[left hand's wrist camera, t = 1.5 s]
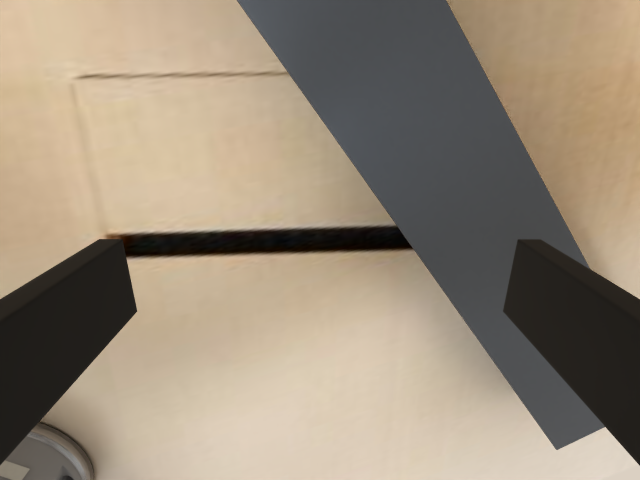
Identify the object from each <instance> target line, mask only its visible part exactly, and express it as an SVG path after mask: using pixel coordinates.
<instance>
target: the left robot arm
mask: <svg viewBox="0 0 640 480" xmlns="http://www.w3.org/2000/svg"><path fill="white" fill-rule="evenodd" d="M136 312H137V308H136V303H135V298H134V294H133V289H132V284H131V279H130V274H129V269H128V264H127V259H126V255H125V250H124V245H123V240H122V239H99V240H97V241H96V242H94V243H92V244H91V245H89V246H87V247H86V248H84V249H82V250H81V251H79V252H78V253H76V254H74V255H73V256H71V257H69V258H68V259H66V260H64V261H63V262H61V263H59V264H58V265H56V266H54V267H53V268H51V269H50V270H48V271H46V272H45V273H43V274H41V275H40V276H38V277H36V278H35V279H33V280H31V281H30V282H28V283H26V284H25V285H23V286H22V287H20V288H18V289H17V290H15V291H13V292H12V293H10V294H8V295H7V296H5V297H3V298H2V299H0V480H93V477H94V475H93V468H92V465H91V462H90V460H89V458H88V457H87V455H86V453H85V452H84V451H83V450H82V449H81V447H80V446H79V445H78V444H77V443H75V442H74V441H73V440H72V439H71V438H69V437H68V436H66V435H65V434H63V433H62V432H60V431H58V430H56V429H54V428H52V427H49V426H47V425H44V424H41V423H38V422H39V421H40V420H41V419H42V418H43V417H44V416H45V415H46V413H47V412H48V411H49V410H50V409H51V408H52V407H53V405H54V404H55V403H56V402H57V401H58V400H59V399H60V398H61V396H62V395H63V394H64V393H65V392H66V391H67V390H68V389H69V387H70V386H71V385H72V384H73V383H74V382H75V381H76V380H77V378H78V377H79V376H80V375H81V374H82V373H83V372H84V371H85V369H86V368H87V367H88V366H89V365H90V364H91V363H92V362H93V360H94V359H95V358H96V357H97V356H98V355H99V354H100V353H101V351H102V350H103V349H104V348H105V347H106V346H107V345H108V344H109V342H110V341H111V340H112V339H113V338H114V337H115V336H116V335H117V333H118V332H119V331H120V330H121V329H122V328H123V327H124V326H125V324H126V323H127V322H128V321H129V320H130V319H131V318H132V317H133V315H134V314H135V313H136ZM503 312H504V313H505V314H506V315H507V317H508V318H509V319H510V320H511V321H512V322H513V323H514V324H515V326H516V327H517V328H518V329H519V330H520V331H521V332H522V333H523V335H524V336H525V337H526V338H527V339H528V340H529V341H530V342H531V344H532V345H533V346H534V347H535V348H536V349H537V350H538V351H539V353H540V354H541V355H542V356H543V357H544V358H545V359H546V360H547V362H548V363H549V364H550V365H551V366H552V367H553V368H554V369H555V371H556V372H557V373H558V374H559V375H560V376H561V377H562V378H563V380H564V381H565V382H566V383H567V384H568V385H569V386H570V387H571V389H572V390H573V391H574V392H575V393H576V394H577V395H578V396H579V398H580V399H581V400H582V401H583V402H584V403H585V404H586V405H587V407H588V408H589V409H590V410H591V411H592V412H593V413H594V415H595V416H596V417H597V418H598V419H599V420H600V421H601V422H602V424H603V425H604V426H605V427H606V428H607V429H608V430H609V431H610V433H611V434H612V435H613V436H614V437H615V438H616V439H617V440H618V442H619V443H620V444H621V445H622V446H623V447H624V448H625V449H626V451H627V452H628V453H629V454H630V455H631V456H632V457H633V458H634V460H635V461H636V462H637V463H638V464H639V465H640V299H638V298H637V297H635V296H633V295H632V294H630V293H628V292H627V291H625V290H623V289H622V288H620V287H618V286H617V285H615V284H614V283H612V282H610V281H609V280H607V279H605V278H604V277H602V276H600V275H599V274H597V273H595V272H594V271H592V270H590V269H589V268H587V267H586V266H584V265H582V264H581V263H579V262H577V261H576V260H574V259H572V258H571V257H569V256H567V255H566V254H564V253H562V252H561V251H559V250H558V249H556V248H554V247H553V246H551V245H549V244H548V243H546V242H544V241H543V240H541V239H518V240H517V245H516V250H515V255H514V259H513V264H512V269H511V274H510V279H509V284H508V289H507V294H506V298H505V303H504V308H503Z"/></svg>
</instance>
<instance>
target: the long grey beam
mask: <svg viewBox="0 0 640 480" xmlns="http://www.w3.org/2000/svg"><path fill="white" fill-rule="evenodd" d="M237 1H238V3H239V4H240V5H241V7H242V8H243V10H244V11H245V12H246V14H247V15H248V17H249V18H250V19H251V21H252V22H253V24H254V25H255V26H256V28H257V29H258V31H259V32H260V34H261V35H262V36H263V38H264V39H265V41H266V42H267V43H268V45H269V46H270V48H271V49H272V50H273V52H274V53H275V55H276V56H277V57H278V59H279V60H280V62H281V63H282V64H283V66H284V67H285V69H286V70H287V72H288V73H289V74H290V76H291V77H292V79H293V80H294V81H295V83H296V84H297V86H298V87H299V88H300V90H301V91H302V93H303V94H304V95H305V97H306V98H307V100H308V101H309V102H310V104H311V105H312V107H313V108H314V110H315V111H316V112H317V114H318V115H319V117H320V118H321V119H322V121H323V122H324V124H325V125H326V126H327V128H328V129H329V131H330V132H331V133H332V135H333V136H334V138H335V139H336V140H337V142H338V143H339V145H340V146H341V148H342V149H343V150H344V152H345V153H346V155H347V156H348V157H349V159H350V160H351V162H352V163H353V164H354V166H355V167H356V169H357V170H358V171H359V173H360V174H361V176H362V177H363V178H364V180H365V181H366V183H367V184H368V186H369V187H370V188H371V190H372V191H373V193H374V194H375V195H376V197H377V198H378V200H379V201H380V202H381V204H382V205H383V207H384V208H385V209H386V211H387V212H388V214H389V215H390V216H391V218H392V219H393V221H394V222H395V224H396V225H397V226H398V228H399V229H400V231H401V232H402V233H403V235H404V236H405V238H406V239H407V240H408V242H409V243H410V245H411V246H412V247H413V249H414V250H415V252H416V253H417V254H418V256H419V257H420V259H421V260H422V261H423V263H424V264H425V266H426V267H427V269H428V270H429V271H430V273H431V274H432V276H433V277H434V278H435V280H436V281H437V283H438V284H439V285H440V287H441V288H442V290H443V291H444V292H445V294H446V295H447V297H448V298H449V299H450V301H451V302H452V304H453V305H454V307H455V308H456V309H457V311H458V312H459V314H460V315H461V316H462V318H463V319H464V321H465V322H466V323H467V325H468V326H469V328H470V329H471V330H472V332H473V333H474V335H475V336H476V337H477V339H478V340H479V342H480V343H481V345H482V346H483V347H484V349H485V350H486V352H487V353H488V354H489V356H490V357H491V359H492V360H493V361H494V363H495V364H496V366H497V367H498V368H499V370H500V371H501V373H502V374H503V375H504V377H505V378H506V380H507V381H508V383H509V384H510V385H511V387H512V388H513V390H514V391H515V392H516V394H517V395H518V397H519V398H520V399H521V401H522V402H523V404H524V405H525V406H526V408H527V409H528V411H529V412H530V413H531V415H532V416H533V418H534V419H535V421H536V422H537V423H538V425H539V426H540V428H541V429H542V430H543V432H544V433H545V435H546V436H547V437H548V439H549V440H550V442H551V443H552V444H553V446H554V447H555V449H556V450H558V449H560V448H562V447H564V446H566V445H568V444H570V443H573V442H575V441H577V440H579V439H581V438H583V437H585V436H587V435H589V434H591V433H593V432H595V431H598V430H600V429H602V428H604V427H605V426H604V425H603V424H602V422H601V421H600V420H599V419H598V418H597V417H596V416H595V415H594V413H593V412H592V411H591V410H590V409H589V408H588V407H587V405H586V404H585V403H584V402H583V401H582V400H581V399H580V398H579V396H578V395H577V394H576V393H575V392H574V391H573V390H572V389H571V387H570V386H569V385H568V384H567V383H566V382H565V381H564V380H563V378H562V377H561V376H560V375H559V374H558V373H557V372H556V371H555V369H554V368H553V367H552V366H551V365H550V364H549V363H548V362H547V360H546V359H545V358H544V357H543V356H542V355H541V354H540V353H539V351H538V350H537V349H536V348H535V347H534V346H533V345H532V344H531V342H530V341H529V340H528V339H527V338H526V337H525V336H524V335H523V333H522V332H521V331H520V330H519V329H518V328H517V327H516V326H515V324H514V323H513V322H512V321H511V320H510V319H509V318H508V317H507V315H506V314H505V313H504V312H503V308H504V303H505V298H506V294H507V289H508V284H509V279H510V274H511V269H512V264H513V259H514V255H515V250H516V245H517V240H518V239H541V240H543V241H544V242H546V243H548V244H549V245H551V246H553V247H554V248H556V249H558V250H559V251H561V252H562V253H564V254H566V255H567V256H569V257H571V258H572V259H574V260H576V261H577V262H579V263H581V264H582V265H584V266H586V267H587V268H589V266H588V264H587V262H586V260H585V259H584V257H583V255H582V253H581V251H580V249H579V247H578V246H577V244H576V242H575V240H574V238H573V236H572V234H571V233H570V231H569V229H568V227H567V225H566V223H565V221H564V219H563V218H562V216H561V214H560V212H559V210H558V208H557V206H556V205H555V203H554V201H553V199H552V197H551V195H550V193H549V191H548V190H547V188H546V186H545V184H544V182H543V180H542V178H541V177H540V175H539V173H538V171H537V169H536V167H535V165H534V164H533V162H532V160H531V158H530V156H529V154H528V152H527V150H526V149H525V147H524V145H523V143H522V141H521V139H520V137H519V136H518V134H517V132H516V130H515V128H514V126H513V124H512V122H511V121H510V119H509V117H508V115H507V113H506V111H505V109H504V108H503V106H502V104H501V102H500V100H499V98H498V96H497V95H496V93H495V91H494V89H493V87H492V85H491V83H490V81H489V80H488V78H487V76H486V74H485V72H484V70H483V68H482V67H481V65H480V63H479V61H478V59H477V57H476V55H475V53H474V52H473V50H472V48H471V46H470V44H469V42H468V40H467V39H466V37H465V35H464V33H463V31H462V29H461V27H460V25H459V24H458V22H457V20H456V18H455V16H454V14H453V12H452V11H451V9H450V7H449V5H448V3H447V1H446V0H237ZM589 269H590V268H589Z"/></svg>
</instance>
